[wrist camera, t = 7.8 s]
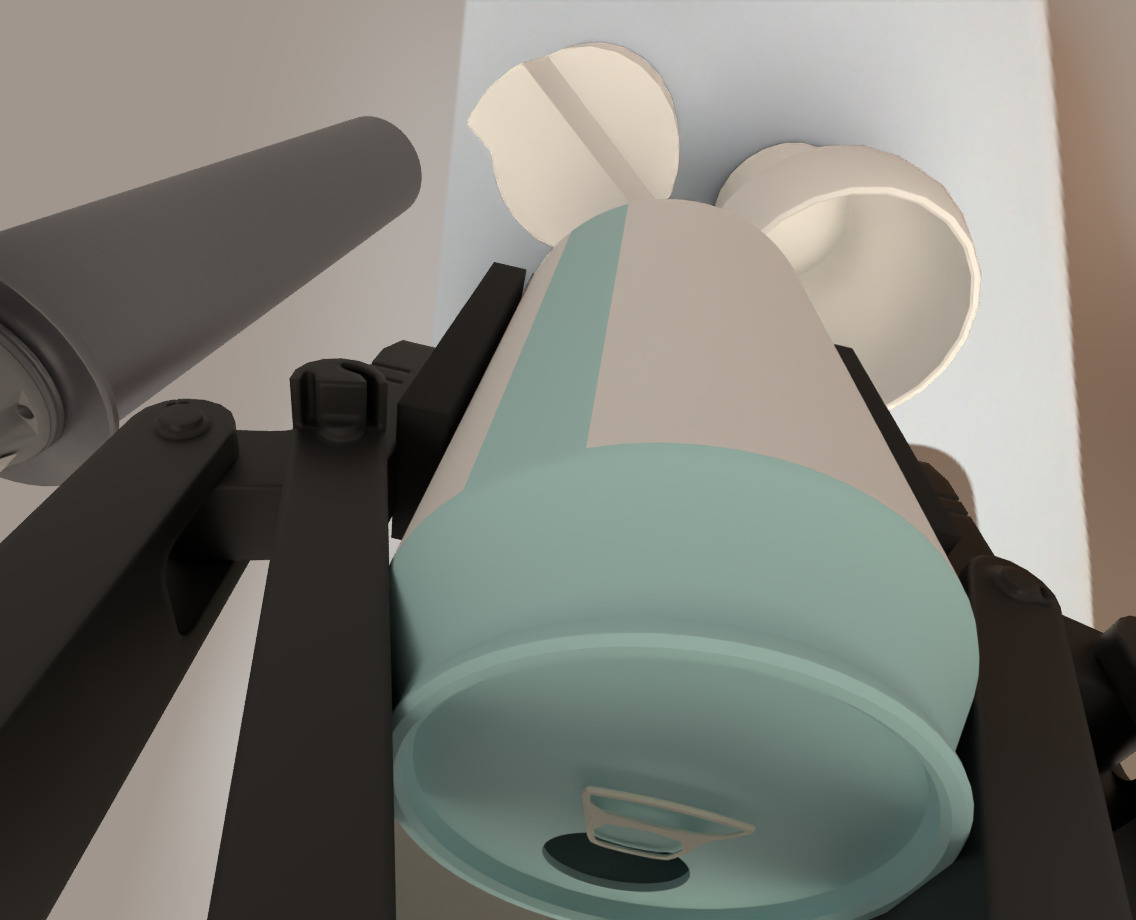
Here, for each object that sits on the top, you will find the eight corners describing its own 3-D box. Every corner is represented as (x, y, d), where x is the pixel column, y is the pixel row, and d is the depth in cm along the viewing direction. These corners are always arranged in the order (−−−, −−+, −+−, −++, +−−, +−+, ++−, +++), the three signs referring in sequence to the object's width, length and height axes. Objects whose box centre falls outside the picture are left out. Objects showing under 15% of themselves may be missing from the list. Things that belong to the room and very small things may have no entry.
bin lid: (318, 942, 25) (320, 944, 25) (629, 1016, 25) (624, 1016, 25) (440, 602, 36) (440, 608, 36) (655, 656, 36) (651, 661, 36)
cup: (809, 332, 39) (873, 472, 27) (655, 265, 38) (650, 380, 26) (925, 162, 33) (1074, 244, 21) (746, 75, 32) (795, 110, 20)
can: (830, 409, 17) (1073, 968, 7) (586, 479, 19) (506, 973, 9) (761, 136, 13) (1053, 472, 3) (474, 262, 15) (154, 678, 6)
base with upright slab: (482, 129, 35) (412, 172, 25) (606, -3, 31) (578, -14, 21) (586, 254, 38) (559, 334, 29) (710, 149, 34) (728, 201, 25)
